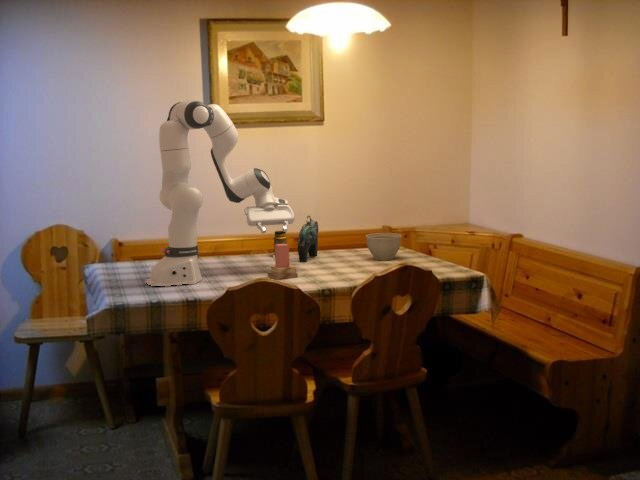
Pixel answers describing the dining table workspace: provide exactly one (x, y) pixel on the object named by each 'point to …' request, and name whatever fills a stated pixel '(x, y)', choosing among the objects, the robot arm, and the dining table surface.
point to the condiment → (279, 239)
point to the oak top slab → (283, 270)
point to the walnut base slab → (282, 276)
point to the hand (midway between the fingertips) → (274, 231)
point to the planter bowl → (383, 245)
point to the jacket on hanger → (308, 240)
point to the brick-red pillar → (281, 255)
